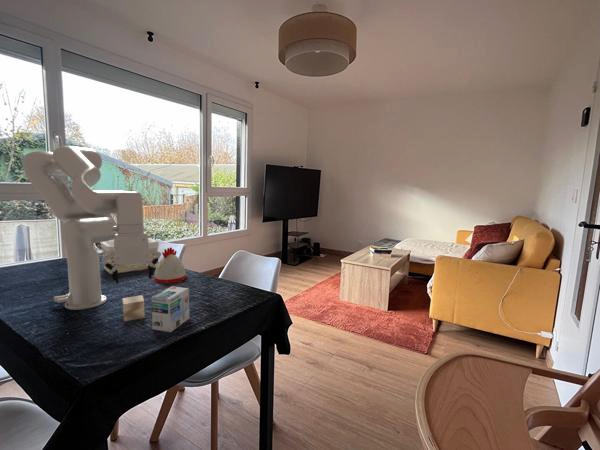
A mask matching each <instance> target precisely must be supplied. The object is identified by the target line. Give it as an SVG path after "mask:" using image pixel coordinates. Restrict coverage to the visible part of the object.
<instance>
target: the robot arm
mask: <svg viewBox="0 0 600 450" xmlns="http://www.w3.org/2000/svg"><path fill="white" fill-rule="evenodd" d="M102 164H103V159H102V156H101V155H100V154H99V153H98V151H96V150H94V149H93V148H89V147H81V146H73V145H61V146H59V147H57V148H55V149H54V150H53V151H47V150H37V151H36V150H35V151H30V152H28V153H26V154H25V155H24V156H23V159H22V168H23V172H24V175H25V177H26V178H27V180H28V181H29V183H30V184H31V185H32V186H33V187H34V189H36V190H37V191H38V192H39V193H40V195H41V196H42V198H43V199H44V201H45V202H46V204H47V205H48V207H49V209H50V210H51V211H52V213H53V215H54V216H55V217H56V218H57V220H59V221H60V222H64V223H63V225H62V226H61V230H60V231H61V237H62V240H63V243H64V247H65V254H66V263H67V274H68V275H67V276H68V289H69V291H68V293H66V294H65V295H56V296H54V297H53V302H54V303H56V302H57V303H58V304H59V303H64V302H65V303H64V307H65V309H68V310H71V311H72V310H73V311H75V310H76V311H77V310H78V311H79V310H80V311H81V310H86V309H87V310H88V309H91V308H95V307H98V306H101V305H103V304H105V303H106V302H107V300H108V299H107V295H104V294H102V280H101V279H102V278H101V263H100V261H101V262H102V264H103V266H104V265H105V266H106V267H107V268H108V269H110V270H111V271H112V272H113V274H112V280H113V282H115V284H119V273H118V270H117V268H118V267H119V266H123V265H132V264H141V263H147V264H148V269H147V277H148V279H150V280H151V279H152V276H154V268H153V266H154V265H155V264H157V263H159V261H160V260H159V259H161V256H162V252H160V251H158V250H157V251H155V250H152V249H149V242H148V238H149V236H148V233H147V232H145V231H144V228H145V227H144V213H143V197H142V196H143V194H141V192H140V191H129V190H126V191H125V190H100V189H99V190H94V189H93V188H91V187H94V186H95V185H97V183H98V182H99V181H100V180H101V177H102V176H101V175H102V173H101V170H100V169H101V168H102ZM57 176H67V177H68V178H70V180H71V181H72V182H71V187H69V185H68V184H66V182H64V181H63V180H61V179H59V178H58V177H57ZM70 188H71V189H70ZM111 214H115V215H116V216H115V217H116V220H115V219H114V217H113V216H112V215H111ZM111 240H114V252H112V253H110V254H108V255H107V256H105V257H103V256H102V257H101V259H100V254H99V252H98V250H96V248H95V247H94V246H93V244H98V243H101V242H105V241H111ZM150 253H151V254H154V255H156V256H155V258H154V259H153V260H152V261H150ZM112 257H114V260H115V264H114V265H111V264H110V263H109V262H108V261H107V260H108V259H110V258H112Z"/></svg>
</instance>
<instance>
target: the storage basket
mask: <svg viewBox="0 0 600 450" xmlns="http://www.w3.org/2000/svg"><path fill="white" fill-rule="evenodd" d="M148 242H149V249H152V250H155V251H158V249H159V247H160V246H159V241H158V240H155V239H153V238H151V237H148ZM100 247H101V250H102V258H103V257H105V256H107V255H108V254H110V253H112V252H114V239H112V240H110V241H105V242H100ZM155 256H156V255H154V254H151V253H150V261H152V260H153V259H154V258H155ZM107 261H108V262H109V263H110V264H111V265H114V264H115V260H114V257H112V258H110V259H108V260H107ZM156 264H157V263H156ZM156 264H155V265H154V266H153V269H156ZM103 269H104V270H105V271H106V272H107V273H108V274H109V275H113V272H112V271H111V270H110V269H108V268H107V267H106V266H105V265H104V264H103ZM117 270H118V274H122V273H129V272H136V271H137V272H139V271H143V270H148V264H147V263H141V264H132V265H123V266H119V267H118V268H117Z"/></svg>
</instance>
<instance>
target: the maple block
mask: <svg viewBox="0 0 600 450" xmlns="http://www.w3.org/2000/svg"><path fill="white" fill-rule="evenodd" d="M122 315H123V322H130V321H134V320H140V319H145V318H146V317H145V315H146V314H145V299H144V296H143V295H142V294H141V295H136V296H129V297H122Z"/></svg>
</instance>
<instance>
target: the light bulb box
mask: <svg viewBox="0 0 600 450" xmlns="http://www.w3.org/2000/svg"><path fill="white" fill-rule="evenodd" d="M151 314H152V315H151V318H152V330H155V331H161V332H167V333H172V332H173V331H175V330H176V329H177V328H179V327H180V326H181V325H183V323H185V322H187V321H188V320H189V319H190V288H188V287H181V286H174V285H173V286H170V287H169V288H166V289H164V290H162V291H160V292H159V293H156V294H155V295H153V296H151Z"/></svg>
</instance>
